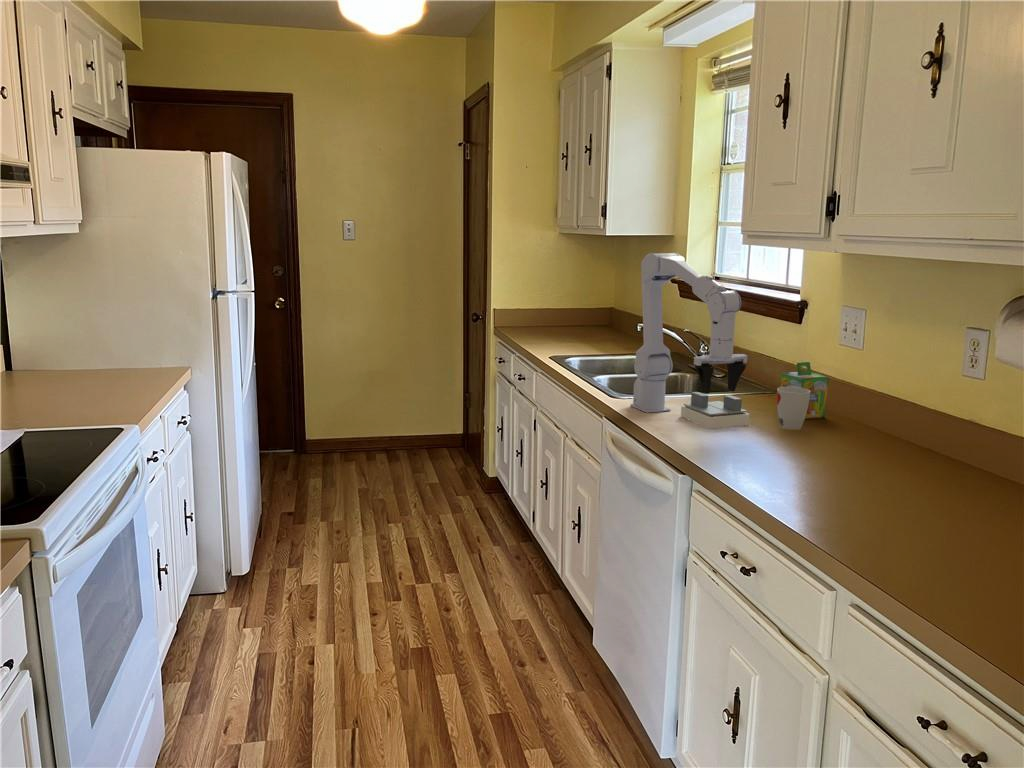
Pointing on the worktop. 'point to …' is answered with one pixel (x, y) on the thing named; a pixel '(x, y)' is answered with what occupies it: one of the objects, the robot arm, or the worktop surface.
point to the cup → (792, 406)
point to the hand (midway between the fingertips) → (718, 391)
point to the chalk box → (809, 388)
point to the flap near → (703, 404)
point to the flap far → (729, 404)
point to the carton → (715, 418)
